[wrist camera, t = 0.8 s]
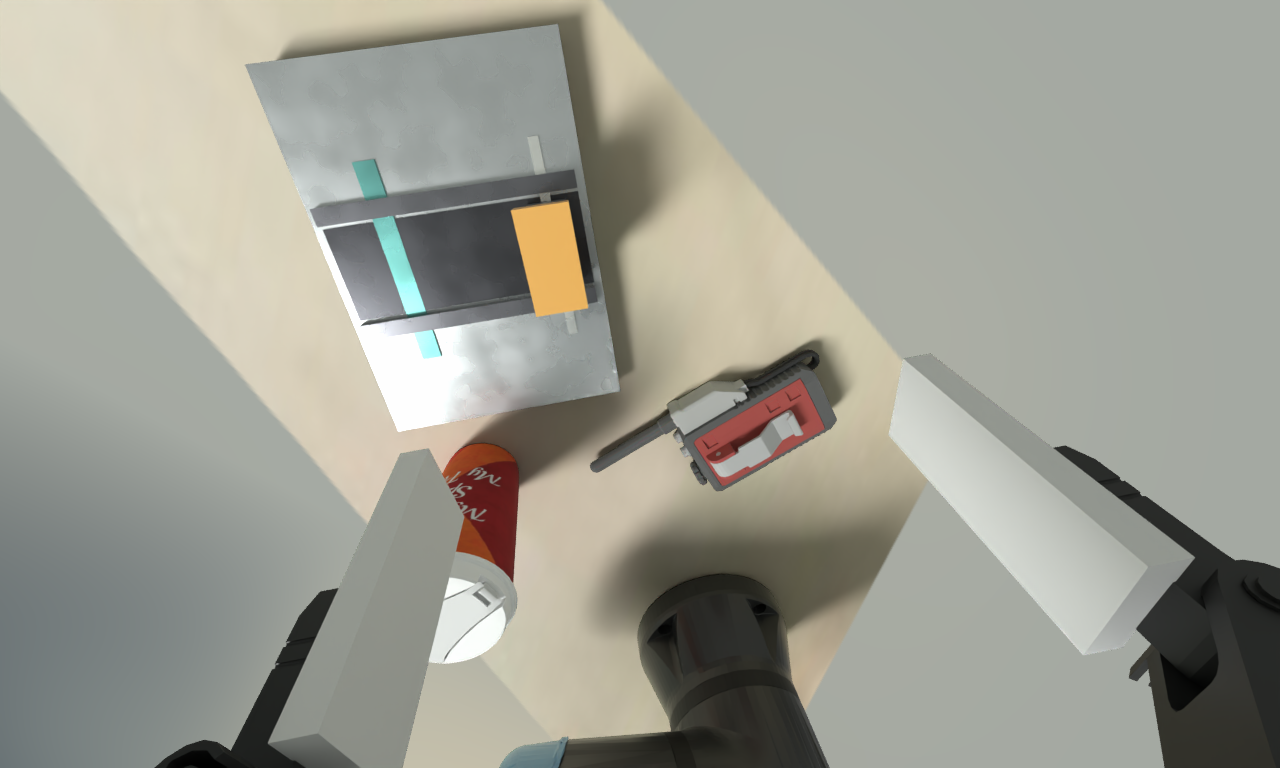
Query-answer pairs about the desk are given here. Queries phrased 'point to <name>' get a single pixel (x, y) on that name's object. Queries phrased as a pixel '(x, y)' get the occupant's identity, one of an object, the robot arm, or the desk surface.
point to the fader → (550, 256)
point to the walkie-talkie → (741, 422)
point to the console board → (445, 215)
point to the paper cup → (480, 554)
